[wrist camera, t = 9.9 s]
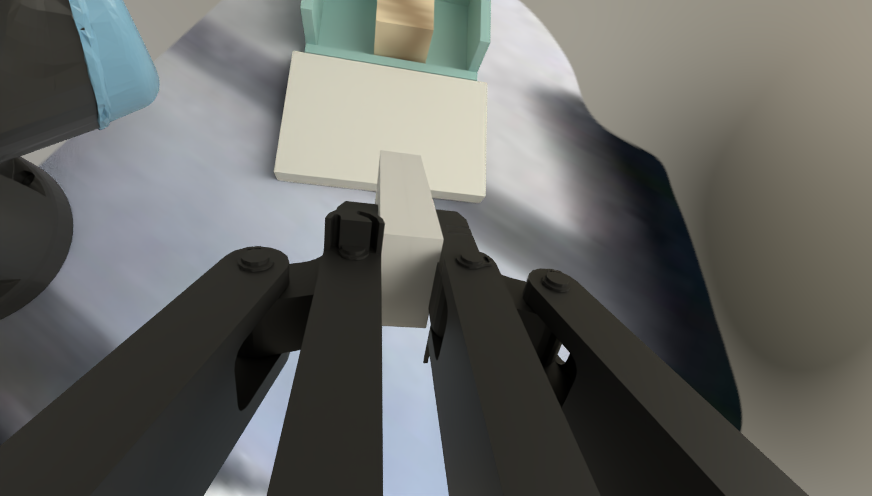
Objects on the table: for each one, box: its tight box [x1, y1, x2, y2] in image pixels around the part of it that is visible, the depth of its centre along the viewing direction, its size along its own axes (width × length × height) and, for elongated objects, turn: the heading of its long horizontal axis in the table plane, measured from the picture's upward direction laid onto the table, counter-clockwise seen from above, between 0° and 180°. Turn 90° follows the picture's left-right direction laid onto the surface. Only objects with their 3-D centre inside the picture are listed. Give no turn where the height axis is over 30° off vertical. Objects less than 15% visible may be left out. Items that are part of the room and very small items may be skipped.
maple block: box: [374, 0, 434, 63], centre depth 43 cm, size 6×6×9 cm
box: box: [300, 0, 491, 81], centre depth 43 cm, size 18×12×6 cm, turn 87°
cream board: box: [274, 51, 487, 203], centre depth 41 cm, size 20×13×2 cm, turn 87°
